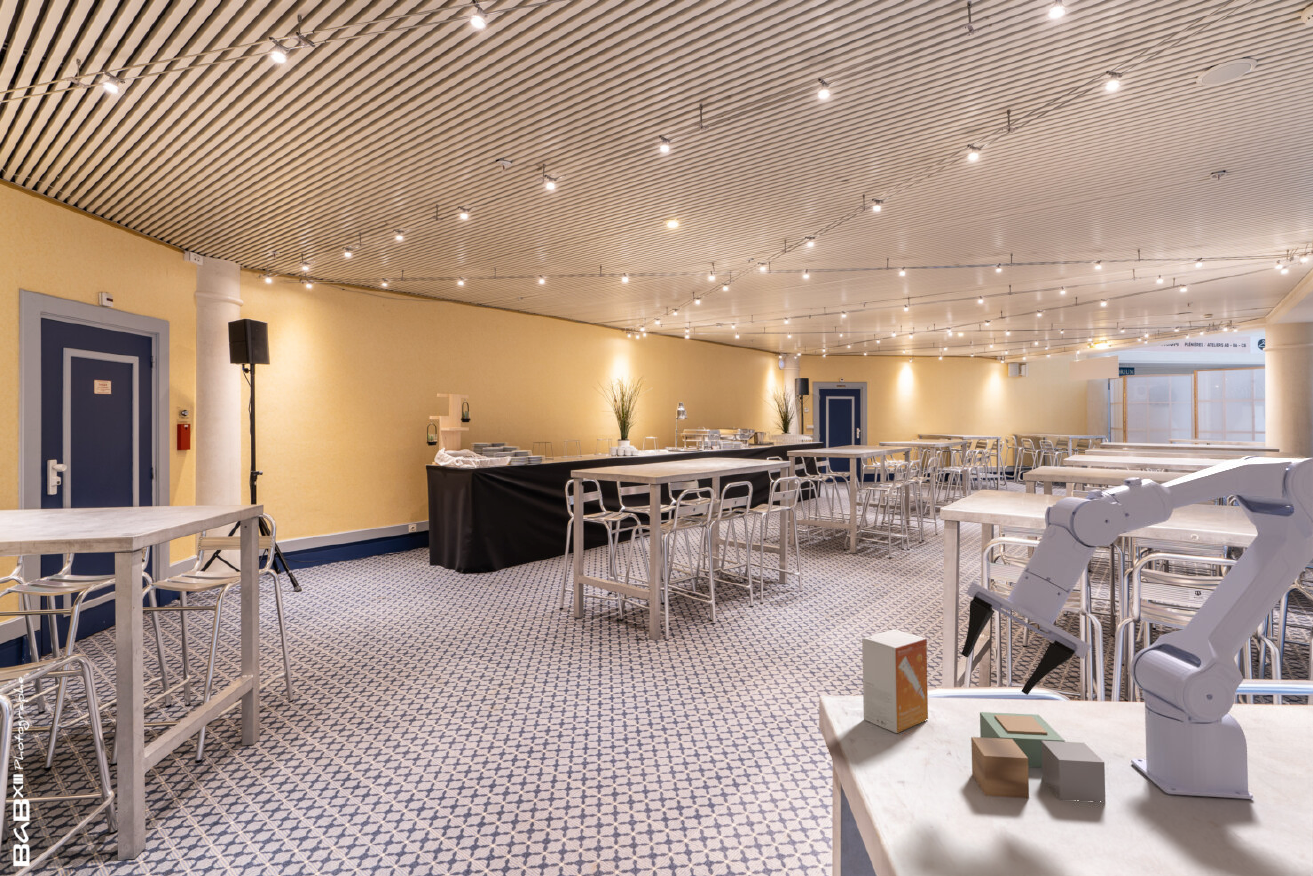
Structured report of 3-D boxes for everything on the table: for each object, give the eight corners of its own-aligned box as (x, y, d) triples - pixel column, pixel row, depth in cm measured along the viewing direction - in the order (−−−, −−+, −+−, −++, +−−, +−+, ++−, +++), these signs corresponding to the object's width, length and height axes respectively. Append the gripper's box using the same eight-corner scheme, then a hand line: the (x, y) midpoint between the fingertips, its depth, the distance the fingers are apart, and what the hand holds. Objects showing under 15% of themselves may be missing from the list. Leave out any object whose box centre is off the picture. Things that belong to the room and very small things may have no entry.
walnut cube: (1013, 777, 83) (1012, 739, 83) (1029, 799, 78) (1027, 758, 78) (972, 775, 84) (971, 737, 84) (985, 796, 79) (984, 755, 79)
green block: (1039, 742, 93) (1038, 712, 93) (1065, 770, 85) (1064, 738, 85) (980, 739, 94) (979, 710, 94) (1000, 767, 86) (1000, 735, 86)
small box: (897, 735, 95) (895, 648, 95) (862, 720, 101) (860, 637, 101) (929, 720, 100) (927, 637, 100) (894, 707, 105) (892, 628, 105)
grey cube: (1084, 781, 82) (1083, 742, 82) (1105, 804, 77) (1104, 762, 77) (1042, 779, 82) (1041, 740, 82) (1060, 801, 77) (1059, 759, 78)
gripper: (985, 549, 83) (934, 639, 83) (1110, 612, 74) (1052, 712, 75) (992, 556, 89) (944, 641, 89) (1108, 615, 80) (1054, 709, 80)
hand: (993, 673), depth 82 cm, fingers open, 7 cm apart
